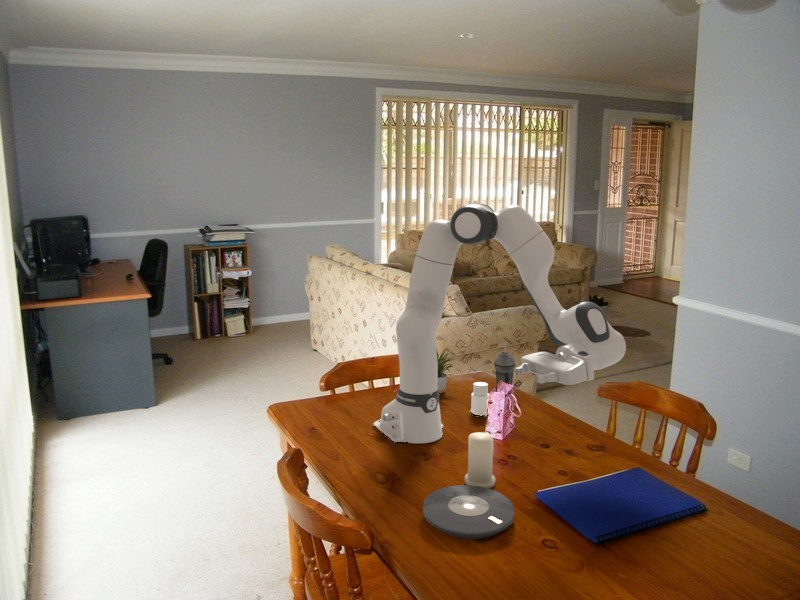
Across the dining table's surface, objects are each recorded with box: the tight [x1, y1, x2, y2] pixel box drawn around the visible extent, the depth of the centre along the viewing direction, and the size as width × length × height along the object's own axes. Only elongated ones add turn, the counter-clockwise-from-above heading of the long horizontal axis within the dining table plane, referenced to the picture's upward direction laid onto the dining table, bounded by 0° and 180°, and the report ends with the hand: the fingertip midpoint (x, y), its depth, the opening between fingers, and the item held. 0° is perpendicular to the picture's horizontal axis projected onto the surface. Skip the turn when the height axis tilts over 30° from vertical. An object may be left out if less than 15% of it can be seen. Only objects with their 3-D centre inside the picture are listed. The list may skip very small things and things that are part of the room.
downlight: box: [470, 381, 490, 417], centre depth 208 cm, size 8×7×10 cm
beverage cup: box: [493, 340, 516, 386], centre depth 224 cm, size 7×7×20 cm
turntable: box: [422, 484, 515, 537], centre depth 143 cm, size 20×20×2 cm
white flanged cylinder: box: [464, 431, 496, 489], centre depth 160 cm, size 8×8×12 cm
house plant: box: [436, 347, 459, 391], centre depth 228 cm, size 14×14×16 cm
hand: (526, 376), depth 163 cm, fingers open, 8 cm apart
